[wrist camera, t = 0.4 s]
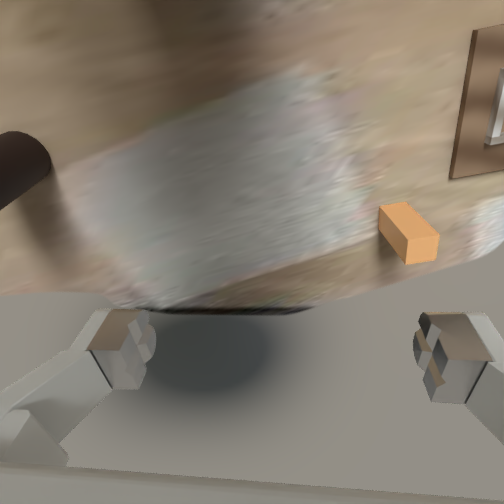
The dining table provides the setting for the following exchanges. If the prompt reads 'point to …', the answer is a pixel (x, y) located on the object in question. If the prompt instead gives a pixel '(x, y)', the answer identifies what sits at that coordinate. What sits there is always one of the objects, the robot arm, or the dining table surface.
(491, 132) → the collar board
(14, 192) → the brown bottle
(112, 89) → the dining table surface
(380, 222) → the orange peg
